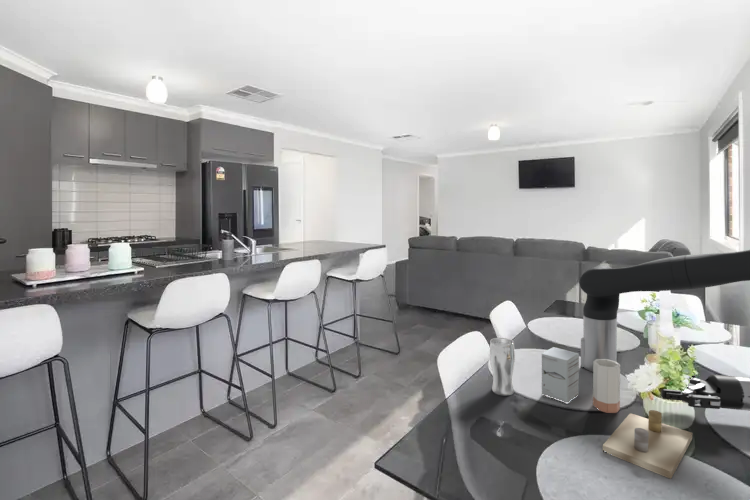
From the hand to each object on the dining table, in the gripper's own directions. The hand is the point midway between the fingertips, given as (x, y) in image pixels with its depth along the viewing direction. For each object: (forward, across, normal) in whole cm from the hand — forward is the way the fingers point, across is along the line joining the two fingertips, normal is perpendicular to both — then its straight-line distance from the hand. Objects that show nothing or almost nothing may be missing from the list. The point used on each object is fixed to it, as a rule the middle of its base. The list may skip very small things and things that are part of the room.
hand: (655, 385), depth 96 cm
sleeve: (+11, 0, +7) cm, 13 cm away
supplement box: (+21, -4, +7) cm, 23 cm away
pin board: (+6, +16, +7) cm, 18 cm away
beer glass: (+37, -3, +7) cm, 37 cm away
